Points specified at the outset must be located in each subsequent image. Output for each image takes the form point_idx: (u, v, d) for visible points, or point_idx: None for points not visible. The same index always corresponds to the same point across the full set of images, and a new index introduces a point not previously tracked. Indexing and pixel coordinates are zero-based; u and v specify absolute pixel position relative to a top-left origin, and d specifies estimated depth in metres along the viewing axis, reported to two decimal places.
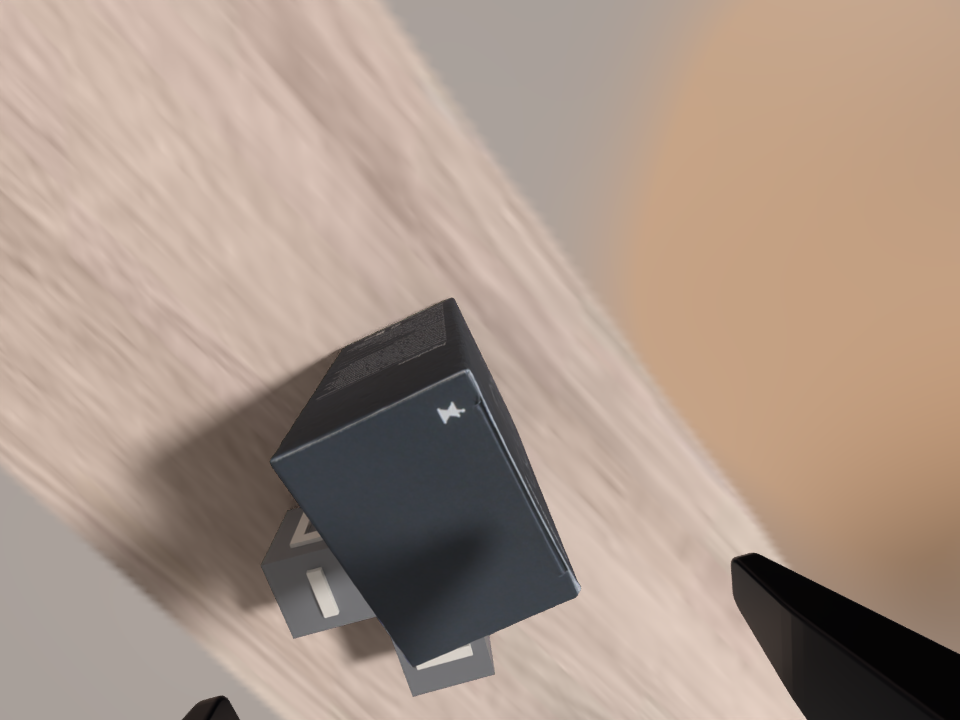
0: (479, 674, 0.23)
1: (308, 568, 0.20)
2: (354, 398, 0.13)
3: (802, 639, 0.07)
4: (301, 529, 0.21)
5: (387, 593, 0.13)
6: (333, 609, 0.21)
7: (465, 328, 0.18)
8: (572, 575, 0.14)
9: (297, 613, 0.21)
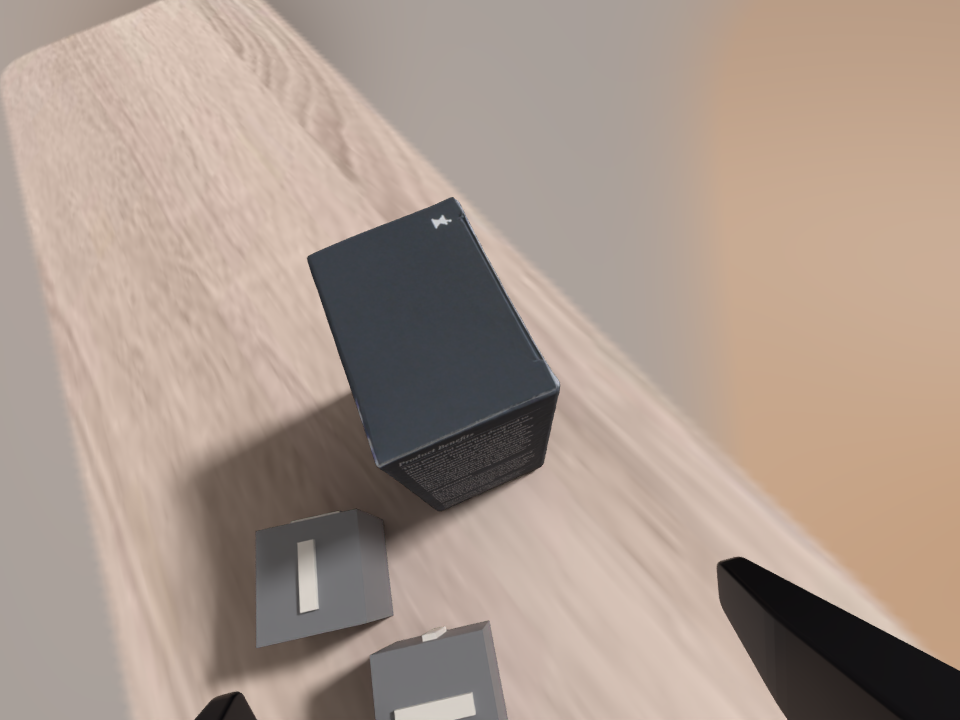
0: None
1: (301, 539, 0.18)
2: None
3: (784, 644, 0.07)
4: None
5: (369, 367, 0.14)
6: (313, 600, 0.17)
7: None
8: (549, 367, 0.14)
9: (272, 606, 0.17)
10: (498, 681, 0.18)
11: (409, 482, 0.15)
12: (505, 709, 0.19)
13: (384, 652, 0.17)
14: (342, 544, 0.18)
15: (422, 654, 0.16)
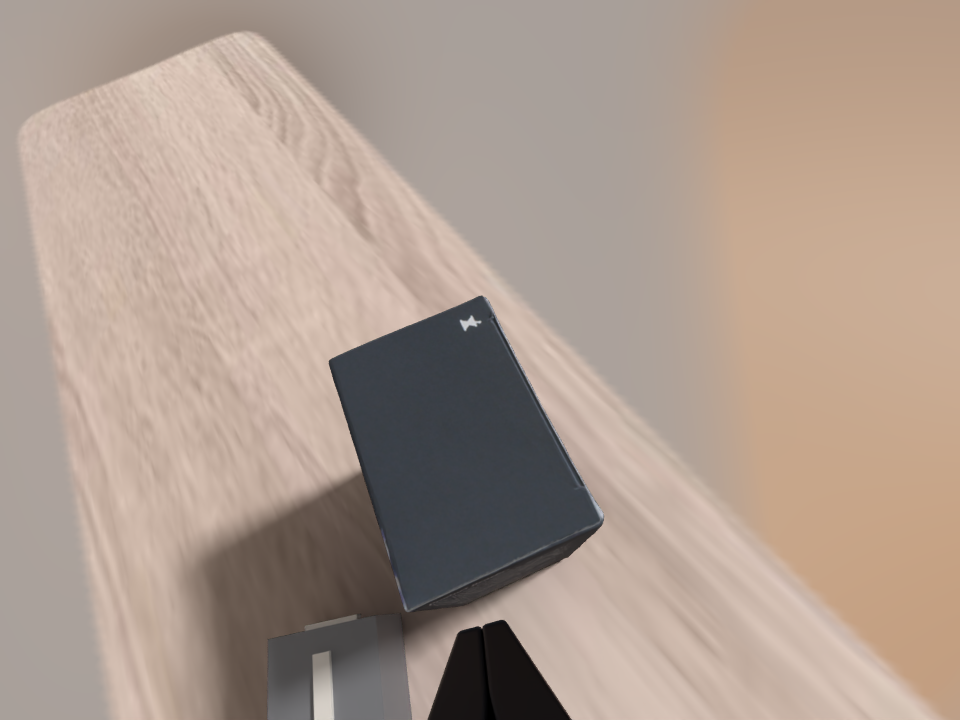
0: None
1: (316, 650, 0.17)
2: None
3: None
4: None
5: (395, 492, 0.13)
6: None
7: None
8: (591, 495, 0.13)
9: None
10: None
11: (436, 607, 0.14)
12: None
13: None
14: (360, 657, 0.17)
15: None
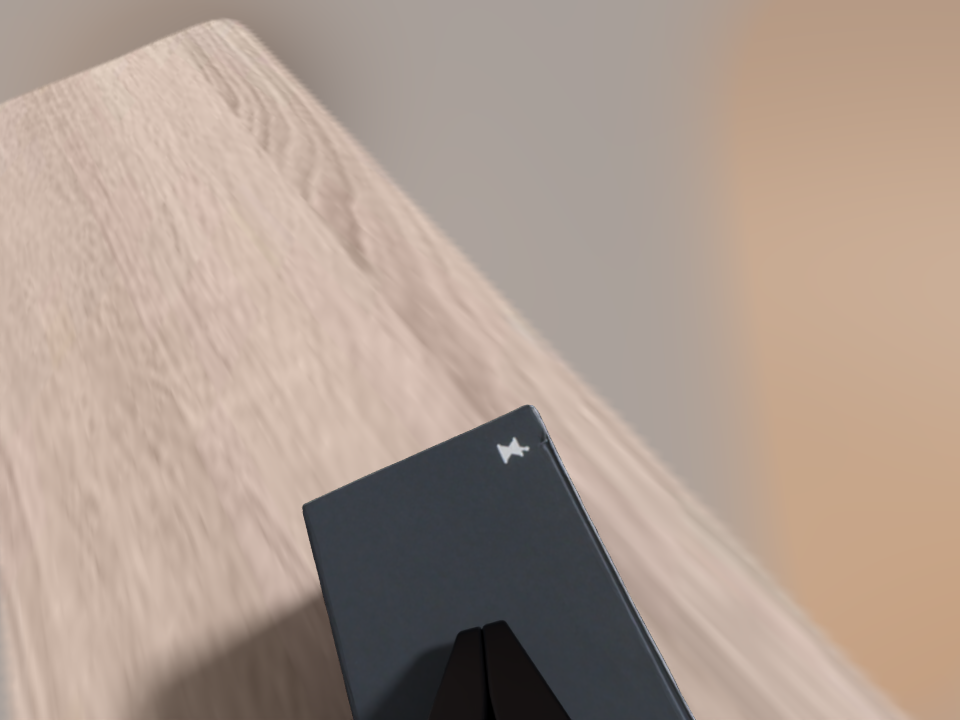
0: None
1: None
2: None
3: None
4: None
5: None
6: None
7: None
8: None
9: None
10: None
11: None
12: None
13: None
14: None
15: None
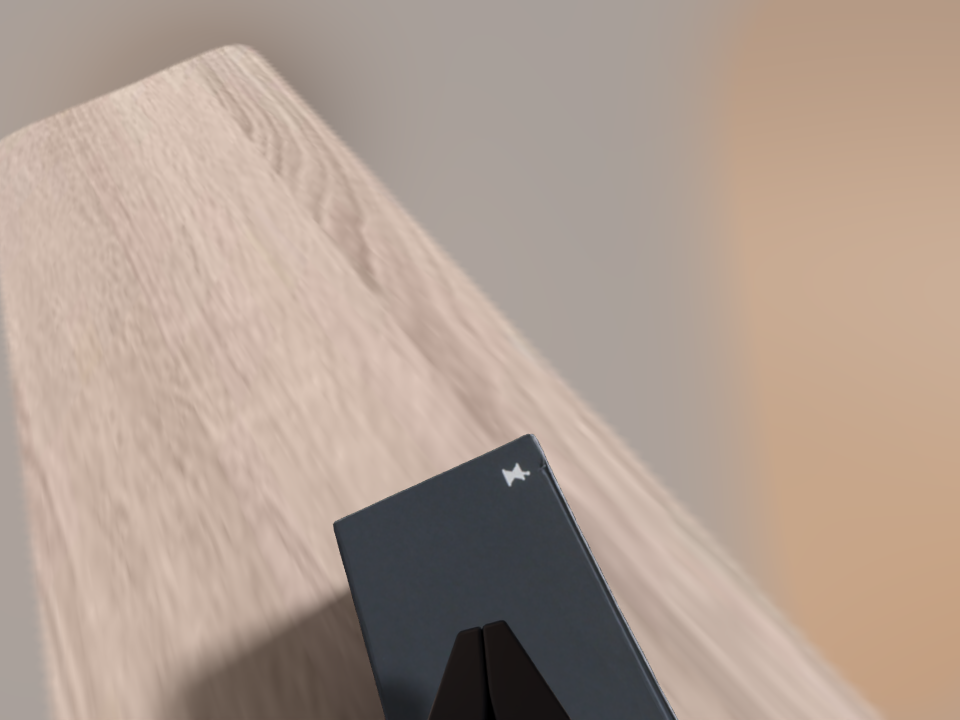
0: None
1: None
2: None
3: None
4: None
5: None
6: None
7: None
8: None
9: None
10: None
11: None
12: None
13: None
14: None
15: None
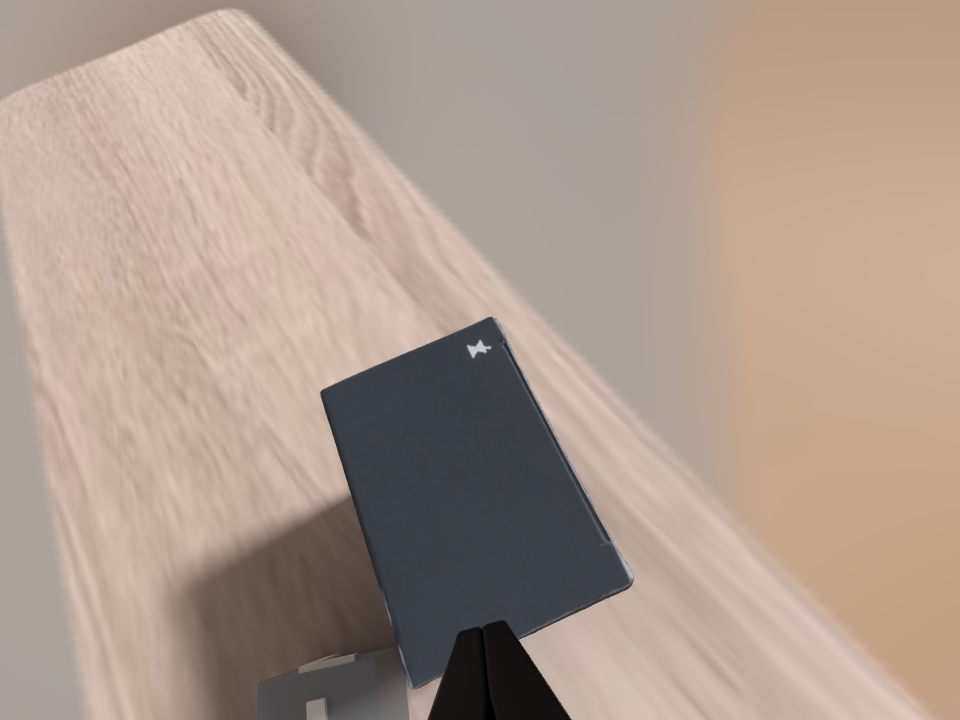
0: None
1: (310, 697, 0.16)
2: None
3: None
4: (316, 661, 0.18)
5: (398, 548, 0.11)
6: None
7: None
8: (618, 552, 0.11)
9: None
10: None
11: None
12: None
13: None
14: (358, 705, 0.16)
15: None
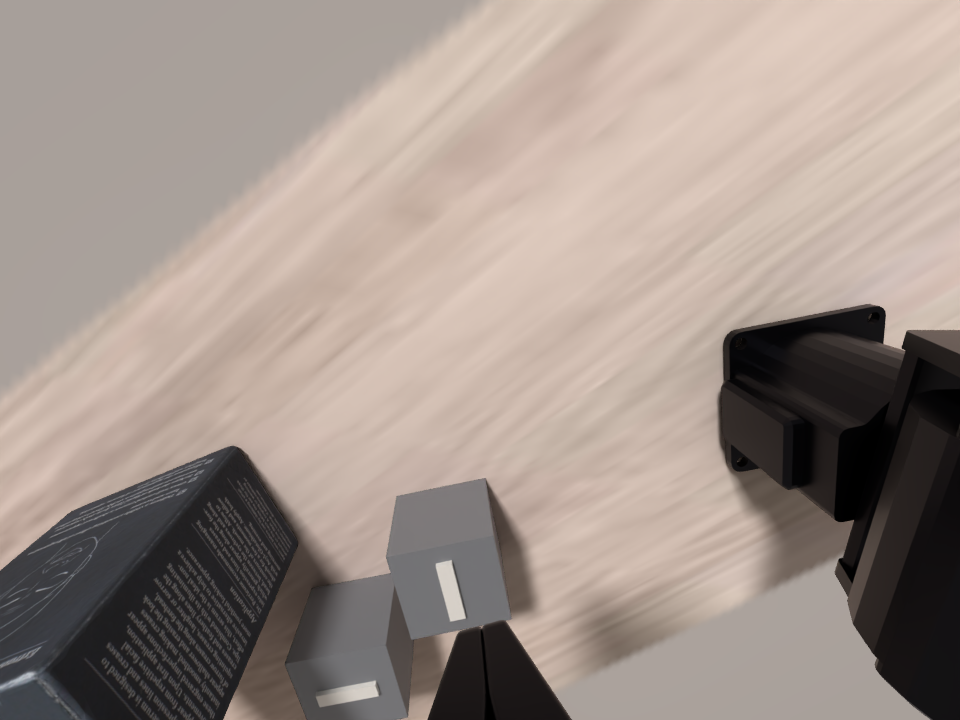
0: (490, 552, 0.18)
1: (318, 701, 0.19)
2: None
3: None
4: None
5: None
6: (368, 688, 0.19)
7: (20, 560, 0.17)
8: (8, 683, 0.10)
9: (375, 712, 0.20)
10: (440, 502, 0.20)
11: (224, 704, 0.14)
12: (465, 486, 0.21)
13: (409, 627, 0.19)
14: (320, 671, 0.19)
15: (408, 602, 0.18)
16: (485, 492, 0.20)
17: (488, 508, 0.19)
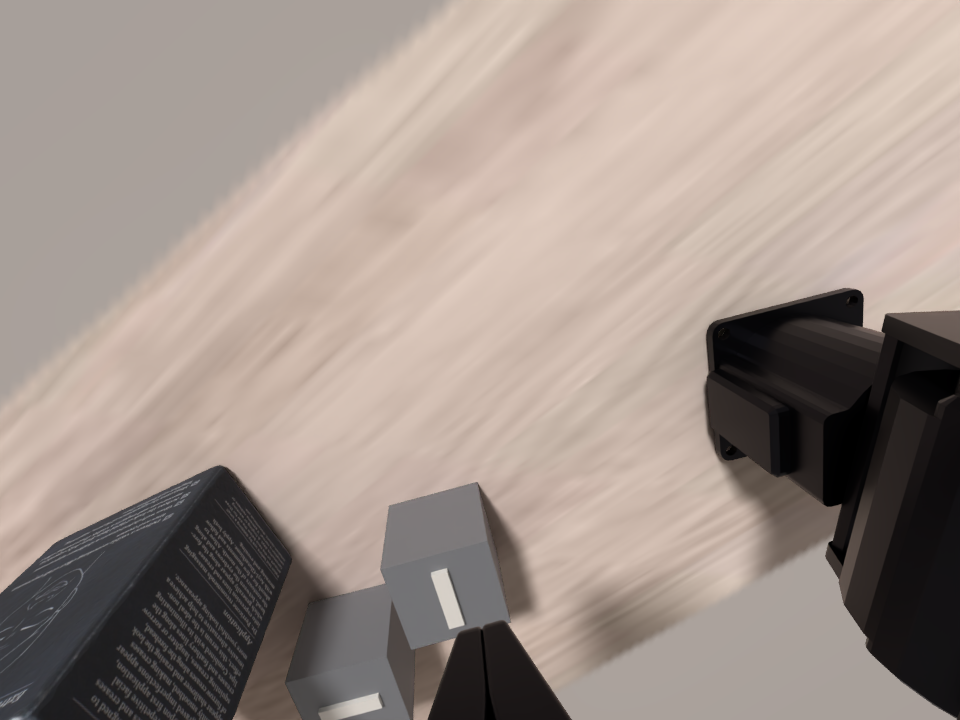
0: (485, 557, 0.18)
1: (321, 717, 0.19)
2: None
3: None
4: None
5: None
6: (371, 700, 0.19)
7: (4, 596, 0.16)
8: None
9: None
10: (433, 509, 0.20)
11: None
12: (457, 491, 0.21)
13: (408, 638, 0.19)
14: (321, 687, 0.19)
15: (406, 612, 0.18)
16: (477, 496, 0.20)
17: (481, 513, 0.19)
